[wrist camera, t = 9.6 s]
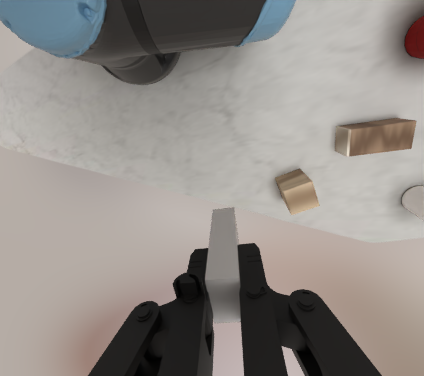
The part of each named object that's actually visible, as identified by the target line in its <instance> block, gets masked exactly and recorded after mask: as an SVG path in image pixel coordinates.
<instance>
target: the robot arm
mask: <svg viewBox="0 0 424 376" xmlns="http://www.w3.org/2000/svg"><path fill="white" fill-rule="evenodd" d="M295 1H296V0H0V20H1V21H2V23H3V24H4V25H5V26H6V27H7V28H9V29H10V30H11V31H12V32H14V33H15V34H16V35H17V36H18V37H19V38H20V39H22V40H23V41H25V42H26V43H28V44H30V45H32V46H34V47H36V48H39V49H41V50H44V51H46V52H49V53H50V54H52V55H55V56H57V57H63V58H73V59H78V60H82V61H86V62H91V63H95V64H99V65H102V67H103V68H104V69H105V70H106V71H108V72H109V73H110V74H111V75H113V76H114V77H116V78H118V79H120V80H122V81H124V82H127V83H131V84H138V85H147V84H152V83H155V82H158V81H160V80H161V79H163V78H164V77H166V76H167V75H168V74H169V73H170V72H171V71H172V69H173V68H174V66H175V65H176V63H177V61H178V59H179V56H180V53H181V51H190V50H199V49H208V48H217V47H226V46H234V47H240V46H243V45H244V44H246V43H251V42H257V41H262V40H267V39H269V38H270V37H272V36H274V35H275V34H276V33H278V32H279V30H280V29H281V28H282V27H283V25H284V24H285V22H286V21H287V19H288V17H289V15H290V13H291V11H292V9H293V6H294V4H295ZM173 287H174V290H175V294H176V297H177V298H176V299H175V300H174V301H172V302H169V303H167V304H164V305H162V306H158V304H157V303H155V302H153V301H146V302H143V303H141V304H139V305H138V306H136V307H135V308H134V310H133V311H132V312H131V313H130V315H129V316H128V318H127V319H126V321H125V322H124V324H123V325H122V327H121V328H120V329H119V331H118V333H117V334H116V335H115V337H114V338H113V340H112V341H111V343H110V344H109V346H108V347H107V349H106V350H105V351H104V353H103V354H102V356H101V357H100V359H99V360H98V362H97V363H96V365H95V366H94V368H93V369H92V371H91V372H90V374H89V375H88V376H212V371H213V349H214V331H213V319H214V323H230V322H241V331H242V347H243V362H244V376H288V374H287V369H286V365H285V360H284V356H283V351H282V346H284V347H287V348H290V349H292V351H293V353H294V355H295V357H296V358H297V361H298V363H299V365H300V367H301V369H302V371H303V373H304V375H305V376H382V375H381V374H380V373H379V372H378V370H377V369H376V368H375V366H374V365H373V364H372V363H371V361H370V360H369V359H368V358H367V356H366V355H365V354H364V352H363V351H362V350H361V349H360V347H359V346H358V345H357V343H356V342H355V341H354V340H353V338H352V337H351V336H350V335H349V333H348V332H347V331H346V329H345V328H344V327H343V326H342V324H341V323H340V322H339V321H338V319H337V318H336V317H335V315H334V314H333V313H332V312H331V310H330V309H329V308H328V307H327V305H326V304H325V303H324V301H323V300H322V299H321V298H320V297H319V296H318V295H317V294H316V293H314V292H312V291H309V290H304V289H302V290H297V291H294V292H292V293H291V295H290V296H288V295H283V294H280V293H277V292H275V291H273V290H272V289H270V287H269V286H268V285H267V282H266V278H265V273H264V269H263V264H262V259H261V255H260V250H259V248H258V247H257V245H256V244H255V243H251V244H240V245H239V240H238V232H237V225H236V219H235V211H234V207H233V208H224V209H215V210H213V213H212V222H211V231H210V239H209V248H205V249H195V250H194V252H193V253H192V254H191V256H190V261H189V265H188V270H187V273H183V274H181V275H180V276H178V277H177V278H176V279H175V280H174V283H173Z"/></svg>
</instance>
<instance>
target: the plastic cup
mask: <svg viewBox="0 0 424 376" xmlns="http://www.w3.org/2000/svg"><path fill="white" fill-rule="evenodd" d="M405 48H406V51H407V53H409V54H410V55H411V56H413V57H416V58H421V59H424V16H422V17H421V18H419V19H418V20H417V21H416V22H415V23H414V24H413V25H412V26H411V27H410V29H409V30H408V33H407V35H406V37H405Z"/></svg>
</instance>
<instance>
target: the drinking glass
mask: <svg viewBox="0 0 424 376" xmlns="http://www.w3.org/2000/svg"><path fill="white" fill-rule="evenodd" d="M402 204H403V206H404V207H405V208H406V209H407V210H409V211H411V212H412V213H413V214H415V215H416V216H417V217H419V218H420V219H421V220H423V221H424V186H415V187H413V188H410V189H409V190H408V191H406V192H405V194H404V195H403V197H402Z"/></svg>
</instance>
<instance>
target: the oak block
mask: <svg viewBox="0 0 424 376" xmlns="http://www.w3.org/2000/svg"><path fill="white" fill-rule="evenodd" d="M275 179H276V182H277V184H278V187H279V190H280V193H281V196H282V198H283V200H284V202H285V204H286V206H287V208H288V209H289V211H290V213H291V215H293V214H296V213H299V212H302V211H305V210H308V209H311V208H314V207H317V206H320V205H319V202H318V199H317V195H316V192H315V189H314V185H313V182H312V180H311V179H310V178H309V177H308V176H307V175H306V174H305V173H304V172H303V171H302V170H301V169H298V170H295V171H292V172H289V173H287V174H284V175H281V176H279V177H276V178H275Z"/></svg>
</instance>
